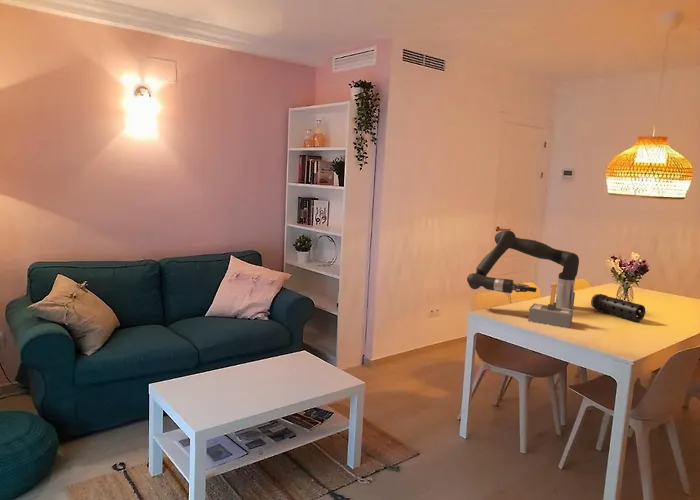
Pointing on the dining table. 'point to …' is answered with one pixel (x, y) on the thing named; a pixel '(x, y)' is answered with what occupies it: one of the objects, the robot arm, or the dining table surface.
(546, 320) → the breaker housing
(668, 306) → the dining table surface
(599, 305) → the muzzle brake
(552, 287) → the lever
